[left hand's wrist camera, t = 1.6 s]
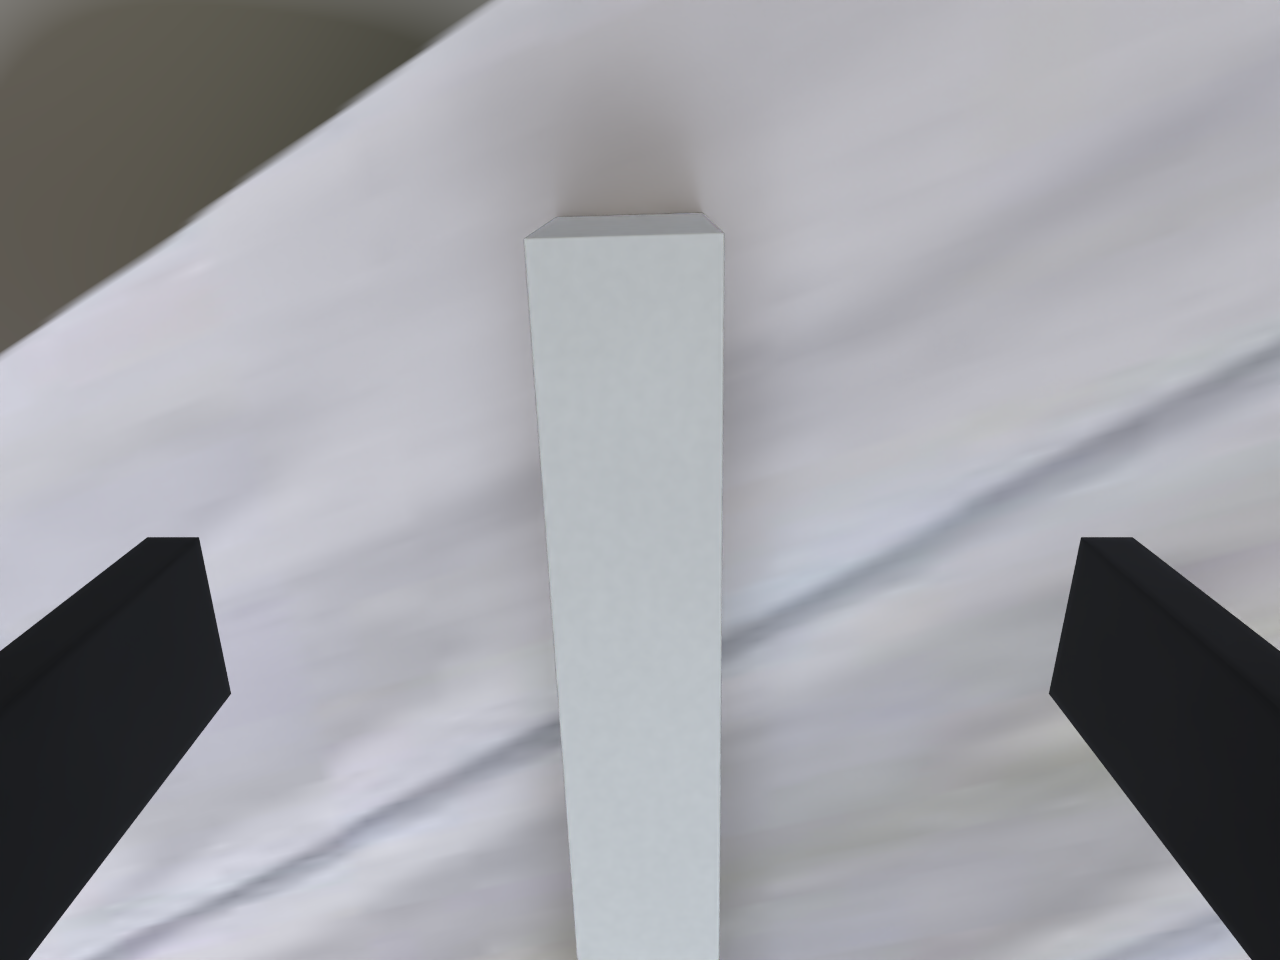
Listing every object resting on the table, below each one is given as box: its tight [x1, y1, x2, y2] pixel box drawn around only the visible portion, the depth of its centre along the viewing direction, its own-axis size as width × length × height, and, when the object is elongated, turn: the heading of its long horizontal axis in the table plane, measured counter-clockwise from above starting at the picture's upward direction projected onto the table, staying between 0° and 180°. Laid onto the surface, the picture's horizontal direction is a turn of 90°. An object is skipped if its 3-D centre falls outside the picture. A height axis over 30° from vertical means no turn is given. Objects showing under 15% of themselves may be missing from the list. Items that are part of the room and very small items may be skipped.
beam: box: [524, 213, 725, 960], centre depth 34 cm, size 55×5×8 cm, turn 2°
